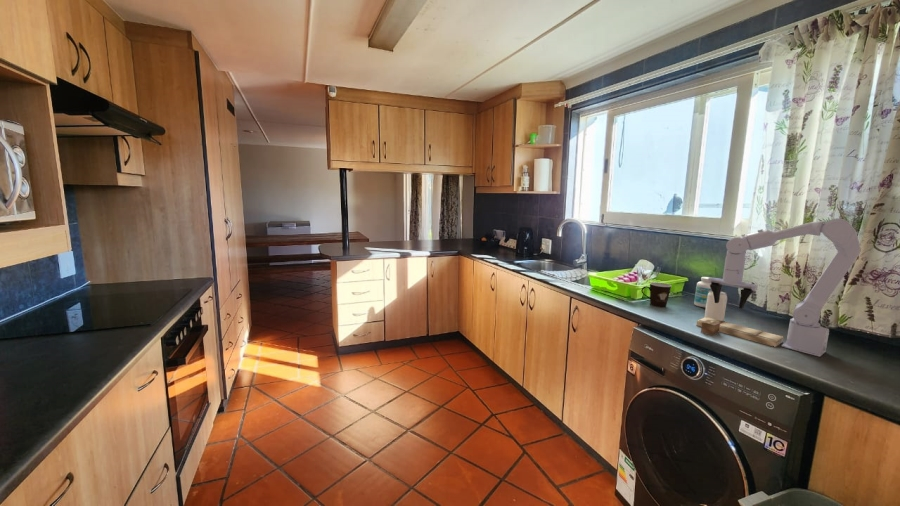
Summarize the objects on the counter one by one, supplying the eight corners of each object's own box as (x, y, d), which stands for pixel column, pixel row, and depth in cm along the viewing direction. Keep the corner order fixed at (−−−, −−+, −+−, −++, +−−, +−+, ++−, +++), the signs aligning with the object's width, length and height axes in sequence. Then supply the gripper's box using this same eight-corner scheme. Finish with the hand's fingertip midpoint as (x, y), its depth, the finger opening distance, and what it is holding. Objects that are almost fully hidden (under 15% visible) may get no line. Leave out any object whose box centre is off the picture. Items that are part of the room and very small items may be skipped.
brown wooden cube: (718, 333, 135) (720, 322, 134) (713, 335, 132) (714, 324, 131) (706, 329, 138) (707, 319, 137) (700, 332, 135) (702, 321, 134)
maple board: (782, 342, 127) (783, 336, 127) (775, 347, 123) (776, 340, 122) (705, 321, 146) (705, 316, 146) (696, 325, 142) (697, 320, 142)
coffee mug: (669, 304, 169) (671, 284, 167) (668, 309, 162) (671, 287, 160) (641, 300, 175) (643, 280, 174) (639, 304, 168) (641, 284, 166)
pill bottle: (690, 304, 171) (693, 276, 169) (701, 303, 173) (705, 275, 171) (705, 308, 164) (709, 280, 162) (717, 307, 166) (721, 279, 164)
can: (726, 323, 145) (731, 294, 143) (708, 321, 146) (713, 293, 145) (718, 318, 151) (722, 290, 150) (701, 316, 153) (705, 289, 151)
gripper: (762, 272, 129) (756, 308, 131) (715, 265, 141) (710, 298, 143) (755, 274, 125) (749, 311, 127) (707, 267, 137) (703, 301, 139)
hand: (728, 305), depth 135 cm, fingers open, 7 cm apart
